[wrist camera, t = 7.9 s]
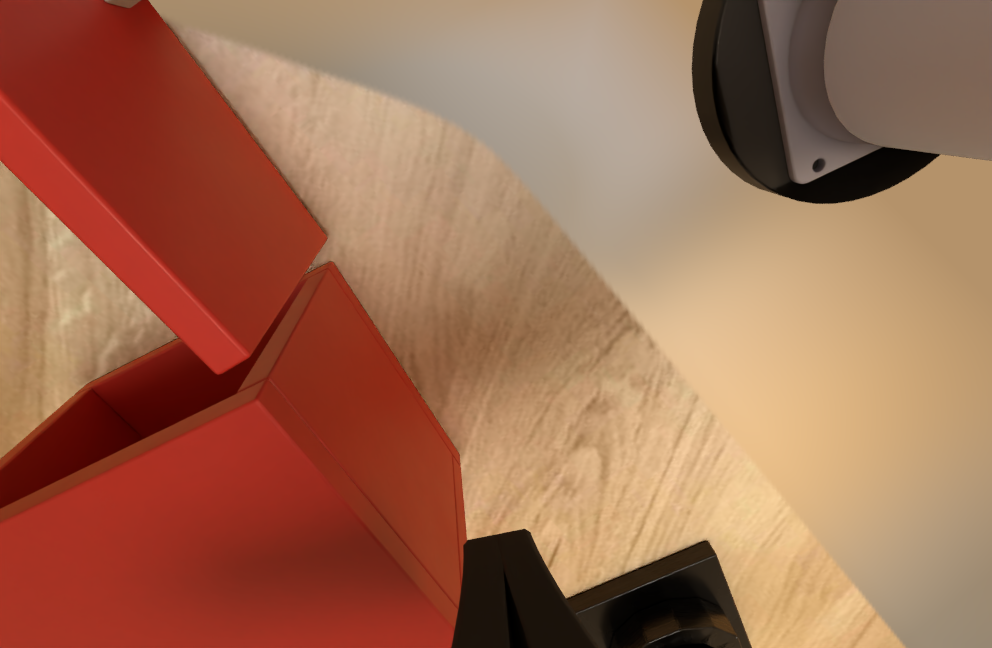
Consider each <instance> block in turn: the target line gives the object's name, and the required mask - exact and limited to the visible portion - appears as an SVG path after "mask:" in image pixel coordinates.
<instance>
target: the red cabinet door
mask: <svg viewBox="0 0 992 648" xmlns="http://www.w3.org/2000/svg"><path fill="white" fill-rule="evenodd" d="M0 161H1V162H2V163H3V164H4V165H5V166H6V167H7V168H8V169H9V170H10V171H11V172H12V173H13V174H14V175H15V176H16V177H17V178H18V179H19V180H20V181H21V182H22V183H23V184H24V185H25V186H26V187H27V188H28V189H29V190H30V191H32V192H33V193H34V194H35V195H36V196H37V197H38V198H39V199H40V200H41V201H42V202H43V203H44V204H45V205H46V206H47V207H48V208H49V209H50V210H51V211H52V212H53V213H54V214H55V215H56V216H57V217H58V218H59V219H60V220H61V221H62V222H63V223H64V224H65V225H66V226H67V227H68V228H69V229H70V230H71V231H72V232H73V233H74V234H75V235H76V236H77V237H78V238H79V239H80V240H81V241H82V242H83V243H84V244H85V245H86V246H87V247H88V248H89V249H90V250H91V251H92V252H93V253H94V254H95V255H96V256H97V257H98V258H99V259H100V260H101V261H102V262H103V263H104V264H105V265H106V266H107V267H108V268H109V269H110V270H111V271H112V272H113V273H114V274H115V275H116V276H117V277H118V278H119V279H120V280H121V281H122V282H123V283H124V284H125V285H126V286H127V287H128V288H129V289H130V290H131V291H132V292H133V293H134V294H135V295H136V296H137V297H138V298H139V299H140V300H141V301H142V302H143V303H145V304H146V305H147V306H148V307H149V308H150V309H151V310H152V311H153V312H154V313H155V314H156V315H157V316H158V317H159V318H160V319H161V320H162V321H163V322H164V323H165V324H166V325H167V326H168V327H169V328H170V329H171V330H172V331H173V332H174V333H175V334H176V335H177V336H178V337H179V338H180V339H181V340H182V341H183V342H184V343H185V344H186V345H187V346H188V347H189V348H190V349H191V350H192V351H193V352H194V353H195V354H196V355H197V356H198V357H199V358H200V359H201V360H202V361H203V362H204V363H205V364H206V365H207V366H208V367H209V368H210V369H211V370H212V371H213V372H214V373H215V374H217V375H219V374H223V373H224V372H226V371H228V370H229V369H231V368H233V367H234V366H236V365H238V364H239V363H241V362H243V361H244V360H246V359H248V358H249V357H250V356H251V355H252V353H253V351H254V350H255V348H256V347H257V345H258V344H259V342H260V341H261V339H262V338H263V336H264V335H265V333H266V332H267V330H268V329H269V327H270V326H271V324H272V323H273V321H274V320H275V318H276V316H277V315H278V313H279V312H280V310H281V309H282V307H283V306H284V304H285V303H286V301H287V300H288V298H289V297H290V295H291V294H292V292H293V291H294V289H295V288H296V286H297V285H298V283H299V282H300V280H301V278H302V277H303V275H304V274H305V272H306V271H307V269H308V268H309V266H310V265H311V263H312V262H313V260H314V259H315V257H316V256H317V254H318V253H319V251H320V250H321V248H322V247H323V245H324V243H325V242H326V240H327V236H326V235H325V234H324V232H323V231H322V230H321V228H320V227H319V226H318V224H317V223H316V222H315V220H314V219H313V218H312V216H311V215H310V214H309V212H308V211H307V210H306V209H305V207H304V206H303V205H302V203H301V202H300V201H299V199H298V198H297V197H296V195H295V194H294V193H293V191H292V190H291V189H290V187H289V186H288V185H287V183H286V182H285V181H284V179H283V178H282V177H281V175H280V174H279V173H278V171H277V170H276V169H275V167H274V166H273V165H272V164H271V162H270V161H269V160H268V158H267V157H266V156H265V154H264V153H263V152H262V150H261V149H260V148H259V146H258V145H257V144H256V142H255V141H254V140H253V138H252V137H251V136H250V134H249V133H248V132H247V130H246V129H245V128H244V126H243V125H242V124H241V122H240V121H239V120H238V118H237V117H236V116H235V115H234V113H233V112H232V111H231V109H230V108H229V107H228V105H227V104H226V103H225V101H224V100H223V99H222V97H221V96H220V95H219V93H218V92H217V91H216V89H215V88H214V87H213V85H212V84H211V83H210V81H209V80H208V79H207V77H206V76H205V75H204V73H203V72H202V71H201V70H200V68H199V67H198V66H197V64H196V63H195V62H194V60H193V59H192V58H191V56H190V55H189V54H188V52H187V51H186V50H185V48H184V47H183V46H182V44H181V43H180V42H179V40H178V39H177V38H176V36H175V35H174V34H173V32H172V31H171V30H170V28H169V27H168V26H167V24H166V23H165V22H164V21H163V19H162V18H161V17H160V15H159V14H158V13H157V11H156V10H155V9H154V7H153V6H152V5H151V3H150V2H149V1H148V0H0Z"/></svg>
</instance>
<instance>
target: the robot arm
mask: <svg viewBox="0 0 992 648" xmlns="http://www.w3.org/2000/svg"><path fill="white" fill-rule="evenodd" d="M757 1H758V6H759V12H760V17H761V23H762V29H763V34H764V40H765V45H766V51H767V56H768V62H769V68H770V73H771V79H772V84H773V90H774V96H775V101H776V107H777V112H778V118H779V123H780V129H781V135H782V140H783V146H784V151H785V157H786V163H787V168H788V174H789V177H790V179H791V180H792V181H793V182H796V183H800V184H805V183H808V182H810V181H812V180H815V179H817V178H819V177H821V176H823V175H825V174H827V173H829V172H831V171H833V170H836V169H838V168H840V167H842V166H844V165H846V164H848V163H850V162H852V161H855V160H857V159H859V158H861V157H863V156H865V155H867V154H869V153H871V152H873V151H876V150H878V149H880V148H882V147H890V148H898V149H906V150H913V151H921V152H928V153H936V154H944V155H951V156H959V157H966V158H974V159H982V160H989V161H992V0H757ZM817 159H818V165H817V167H816V168H815V169H814V170H813V169H812V167H813V163H814V162H815V161H816V160H817ZM451 648H600V647H599V646H598V645H597V643H596V642H595V641H594V639H593V638H592V636H591V635H590V634H589V632H588V631H587V629H586V628H585V627H584V625H583V624H582V622H581V621H580V619H579V618H578V616H577V615H576V613H575V612H574V610H573V609H572V607H571V606H570V604H569V603H568V601H567V600H566V598H565V596H564V595H563V593H562V592H561V590H560V588H559V587H558V585H557V583H556V582H555V580H554V578H553V577H552V575H551V573H550V571H549V570H548V568H547V566H546V564H545V563H544V561H543V559H542V557H541V555H540V553H539V551H538V549H537V547H536V545H535V543H534V540H533V538H532V536H531V533H530V532H529V531H527V530H526V529H522V530H517V531H512V532H507V533H502V534H497V535H492V536H487V537H482V538H477V539H472V540H468V541H467V542H466V543H465V544H464V545H463V576H462V586H461V593H460V601H459V608H458V613H457V619H456V625H455V630H454V636H453V641H452V646H451Z"/></svg>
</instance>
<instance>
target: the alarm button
mask: <svg viewBox="0 0 992 648" xmlns="http://www.w3.org/2000/svg"><path fill="white" fill-rule="evenodd" d="M674 648H709V647H708V646H707V645H706V644H703V643H700V644H686V645H679V646H676V647H674Z"/></svg>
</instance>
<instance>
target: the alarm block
mask: <svg viewBox="0 0 992 648" xmlns="http://www.w3.org/2000/svg"><path fill="white" fill-rule="evenodd" d="M567 601H568V603H569V604H570V606H571V607H572V609H573V610H574V612H575V613H576V615H577V616H578V618H579V619H580V621H581V622H582V624H583V625H584V627H585V628H586V629H587V631H588V632H589V634H590V635H591V636H592V638H593V639H594V641H595V642H596V643H597V645H598V646H599V647H600V648H674V647H676V646H679V645H686V644H700V643H703V644H706V645H707V646H708V647H709V648H752V647H751V644H750V641H749V639H748V636H747V634H746V631H745V628H744V626H743V623H742V621H741V618H740V615H739V613H738V610H737V607H736V605H735V602H734V600H733V597H732V594H731V592H730V589H729V586H728V584H727V581H726V579H725V576H724V573H723V571H722V568H721V566H720V563H719V560H718V558H717V555H716V553H715V551H714V550H713V548H712V547H711V545H710V543H709V542H708V541H705V542H703V543H700V544H698V545H696V546H693V547H691V548H689V549H686V550H684V551H681V552H679V553H677V554H674V555H672V556H670V557H667V558H665V559H662V560H660V561H658V562H655V563H653V564H651V565H648V566H646V567H643V568H641V569H639V570H636V571H634V572H632V573H629V574H627V575H624V576H622V577H620V578H617V579H615V580H613V581H610V582H608V583H606V584H603V585H601V586H598V587H596V588H594V589H591V590H589V591H587V592H584V593H582V594H579V595H577V596H575V597H572V598H570V599H568V600H567Z"/></svg>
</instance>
